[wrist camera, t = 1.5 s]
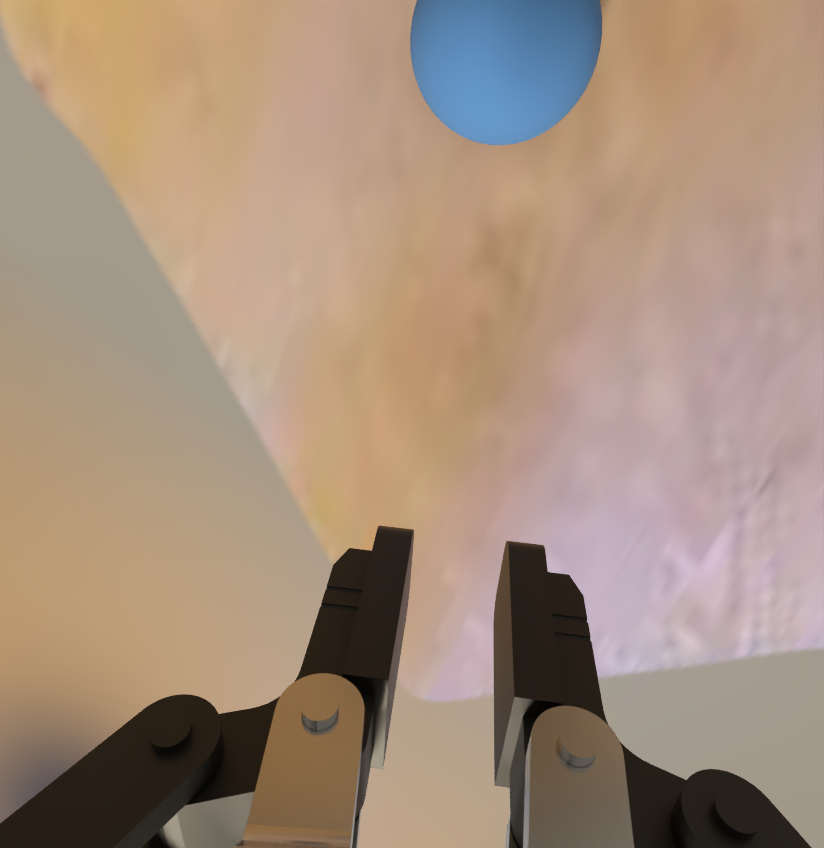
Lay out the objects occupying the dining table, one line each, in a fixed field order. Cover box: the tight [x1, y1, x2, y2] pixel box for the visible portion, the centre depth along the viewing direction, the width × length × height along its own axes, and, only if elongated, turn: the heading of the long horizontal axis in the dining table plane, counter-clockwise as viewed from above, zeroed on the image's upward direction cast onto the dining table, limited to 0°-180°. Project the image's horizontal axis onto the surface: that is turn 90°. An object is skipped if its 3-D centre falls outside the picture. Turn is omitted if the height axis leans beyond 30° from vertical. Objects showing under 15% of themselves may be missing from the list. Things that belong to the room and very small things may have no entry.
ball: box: [410, 0, 602, 145], centre depth 20 cm, size 6×6×6 cm
